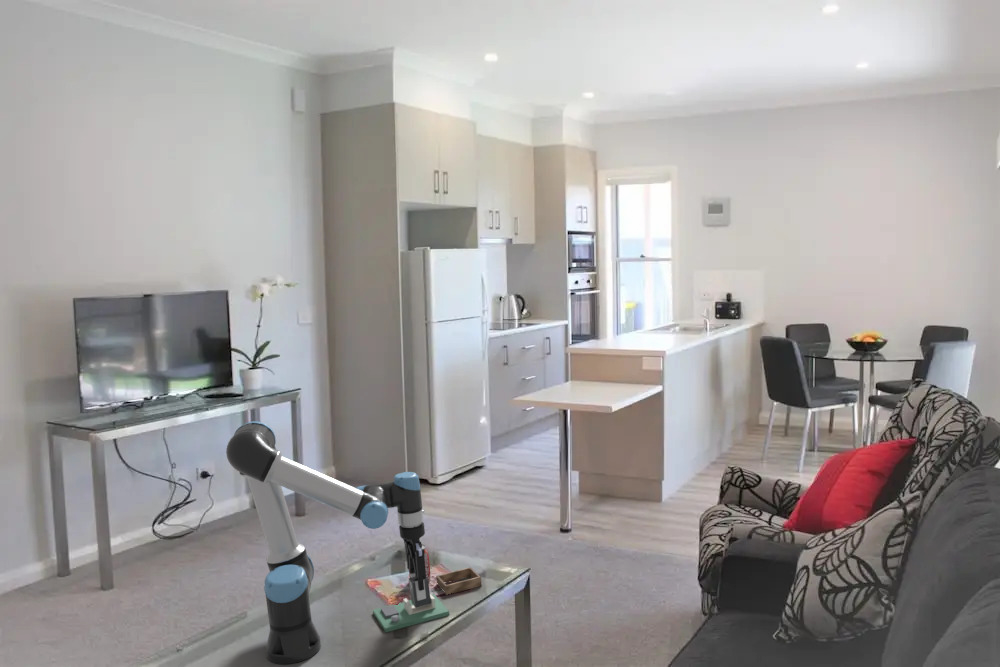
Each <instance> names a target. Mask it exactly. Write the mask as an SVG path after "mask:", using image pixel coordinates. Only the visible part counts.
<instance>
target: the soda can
mask: <svg viewBox="0 0 1000 667" xmlns="http://www.w3.org/2000/svg"><path fill="white" fill-rule="evenodd" d="M422 549H424V559H425V569H426V577H427V578H428V582H429V581H430V580H431V566H430V557H429V556H430V555H429V554H430V553H429V551H428V548H427V546H426V545H425V543H422ZM410 574H411V573H410V572H409V571H408V576H409V578H411V577H410Z"/></svg>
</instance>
